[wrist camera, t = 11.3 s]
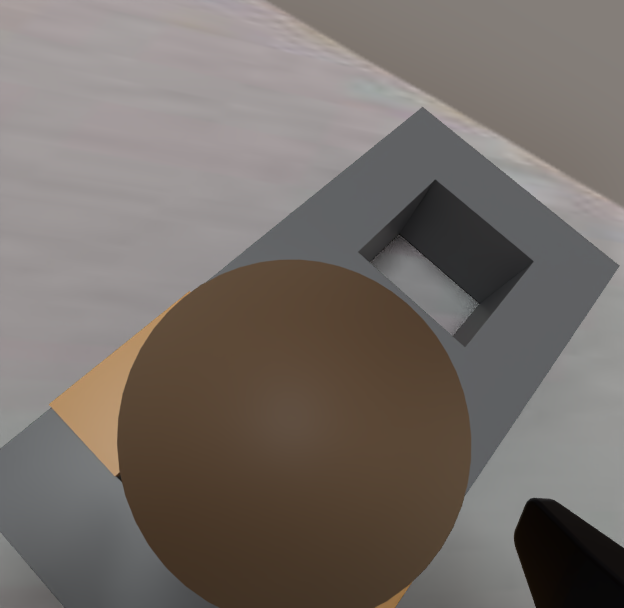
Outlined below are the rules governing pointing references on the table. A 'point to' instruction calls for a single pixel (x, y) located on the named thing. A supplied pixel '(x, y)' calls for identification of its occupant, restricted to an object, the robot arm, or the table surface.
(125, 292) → the table surface
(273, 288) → the walnut peg
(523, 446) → the table surface
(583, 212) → the table surface
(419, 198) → the grey peg socket base
